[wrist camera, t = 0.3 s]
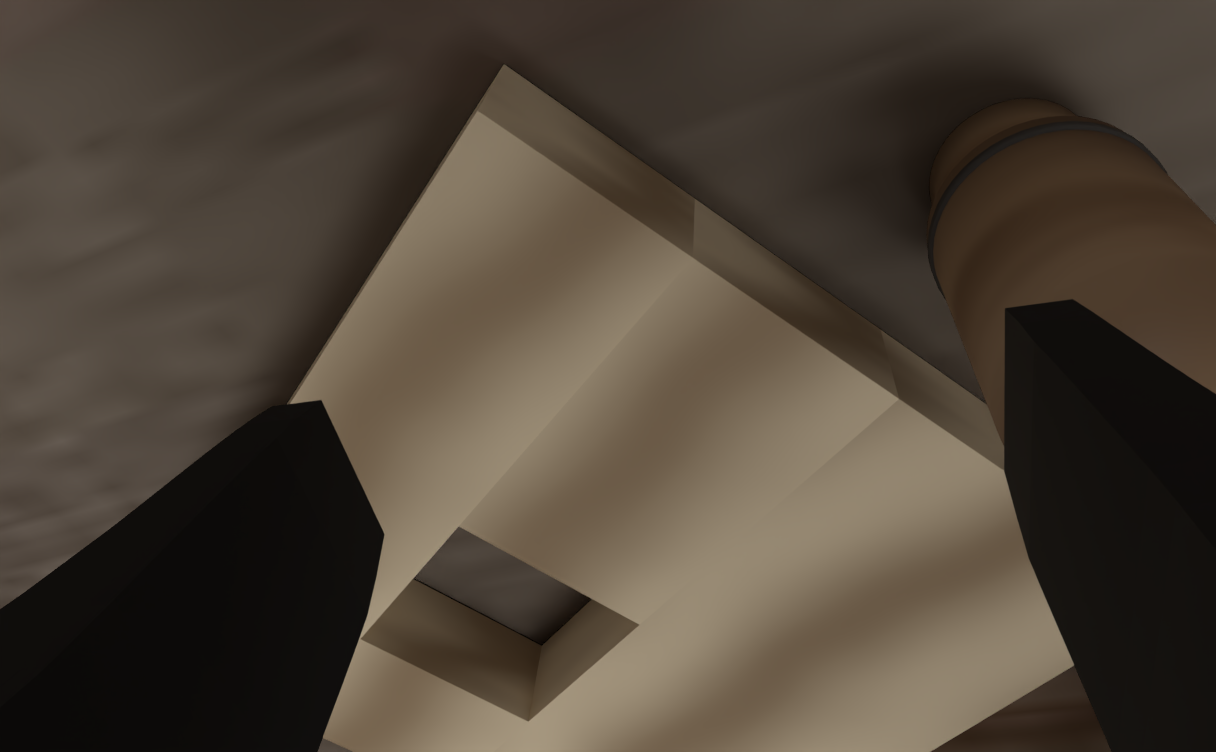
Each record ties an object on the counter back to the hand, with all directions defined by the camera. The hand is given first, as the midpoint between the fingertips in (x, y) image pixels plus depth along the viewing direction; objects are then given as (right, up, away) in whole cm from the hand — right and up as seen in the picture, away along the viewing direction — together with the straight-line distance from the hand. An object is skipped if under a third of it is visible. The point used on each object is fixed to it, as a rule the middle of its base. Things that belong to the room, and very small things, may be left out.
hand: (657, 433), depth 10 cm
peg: (+7, +4, +8) cm, 12 cm away
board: (0, -4, +15) cm, 15 cm away
